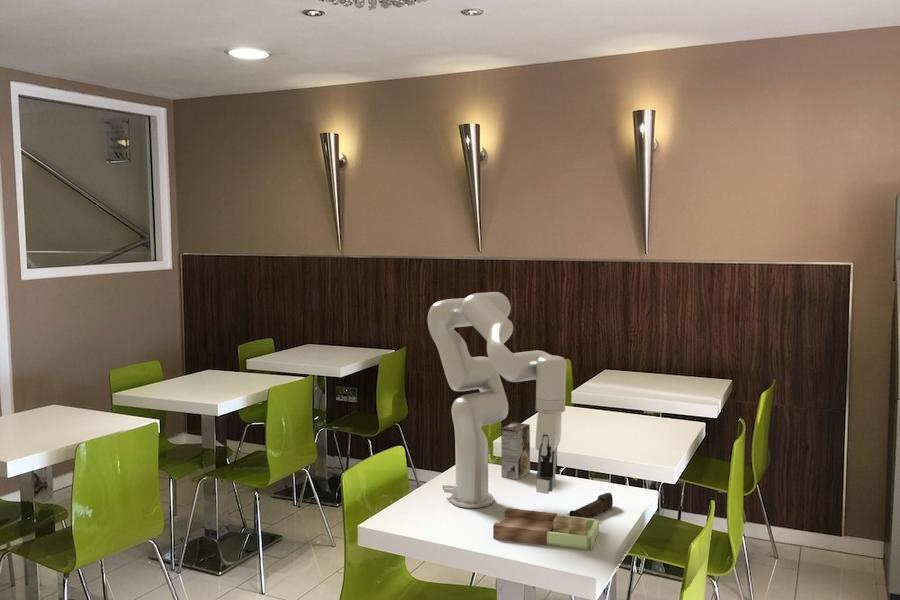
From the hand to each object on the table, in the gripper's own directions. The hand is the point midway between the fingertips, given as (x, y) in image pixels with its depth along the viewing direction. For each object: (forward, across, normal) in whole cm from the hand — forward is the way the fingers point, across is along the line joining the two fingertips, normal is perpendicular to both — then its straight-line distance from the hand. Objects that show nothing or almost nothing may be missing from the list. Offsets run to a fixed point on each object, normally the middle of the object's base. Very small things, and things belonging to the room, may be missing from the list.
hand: (548, 472), depth 198 cm
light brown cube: (+16, 0, +4) cm, 16 cm away
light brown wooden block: (+15, 0, +8) cm, 17 cm away
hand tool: (+17, -17, +9) cm, 26 cm away
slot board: (+16, +1, -6) cm, 17 cm away
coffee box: (+18, -45, -20) cm, 53 cm away
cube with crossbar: (+4, 0, -1) cm, 4 cm away
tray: (+16, +1, +7) cm, 18 cm away
